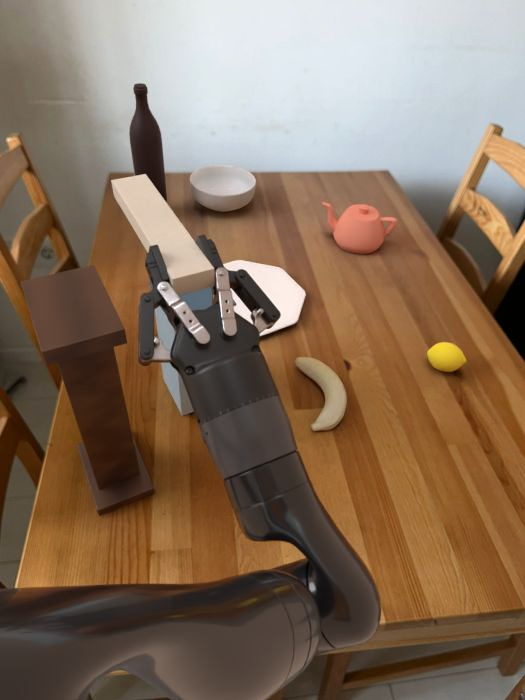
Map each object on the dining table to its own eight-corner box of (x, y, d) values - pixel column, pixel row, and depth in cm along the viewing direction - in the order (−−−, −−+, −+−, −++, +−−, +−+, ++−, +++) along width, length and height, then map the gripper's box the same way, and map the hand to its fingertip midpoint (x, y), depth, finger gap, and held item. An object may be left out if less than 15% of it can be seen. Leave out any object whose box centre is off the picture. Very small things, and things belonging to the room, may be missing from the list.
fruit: (331, 363, 94) (334, 350, 92) (354, 429, 84) (357, 416, 81) (293, 366, 93) (295, 353, 91) (311, 433, 83) (313, 420, 80)
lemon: (421, 372, 94) (430, 351, 90) (423, 353, 98) (431, 332, 94) (461, 382, 93) (471, 361, 89) (461, 361, 96) (471, 341, 93)
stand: (99, 515, 71) (41, 352, 48) (78, 449, 78) (20, 281, 56) (154, 493, 74) (124, 329, 51) (130, 431, 81) (94, 264, 59)
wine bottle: (161, 204, 132) (148, 78, 111) (172, 217, 128) (162, 88, 107) (135, 210, 129) (117, 82, 108) (146, 223, 125) (130, 93, 104)
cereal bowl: (261, 218, 129) (263, 192, 124) (195, 223, 126) (194, 197, 121) (247, 186, 141) (248, 162, 136) (186, 190, 138) (185, 165, 133)
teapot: (389, 261, 119) (399, 225, 112) (313, 248, 121) (318, 212, 114) (391, 234, 127) (401, 199, 121) (320, 222, 129) (325, 187, 123)
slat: (174, 297, 46) (172, 279, 45) (113, 196, 59) (111, 179, 57) (215, 286, 48) (214, 268, 46) (147, 189, 60) (145, 173, 59)
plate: (220, 355, 94) (220, 350, 93) (169, 285, 108) (168, 279, 107) (325, 317, 103) (326, 311, 102) (265, 256, 117) (265, 251, 116)
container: (180, 417, 84) (171, 321, 69) (161, 378, 89) (148, 281, 75) (234, 398, 87) (236, 303, 72) (211, 361, 93) (209, 266, 78)
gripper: (326, 380, 44) (254, 207, 47) (168, 437, 39) (98, 239, 42) (297, 398, 51) (235, 246, 54) (159, 449, 46) (100, 278, 49)
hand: (176, 244), depth 48 cm, fingers closed on slat, 4 cm apart
